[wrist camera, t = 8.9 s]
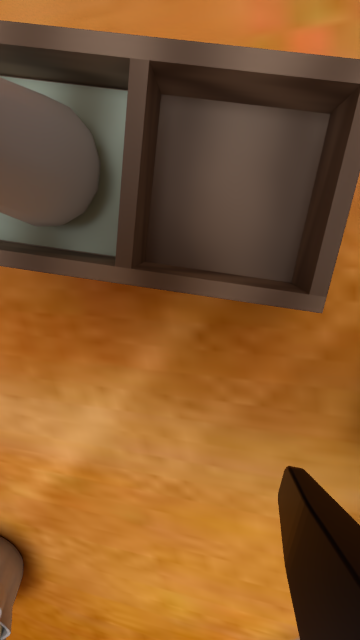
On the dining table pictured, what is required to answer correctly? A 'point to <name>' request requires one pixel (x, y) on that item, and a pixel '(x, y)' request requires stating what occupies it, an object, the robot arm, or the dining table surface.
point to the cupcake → (8, 583)
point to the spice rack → (196, 163)
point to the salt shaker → (44, 158)
